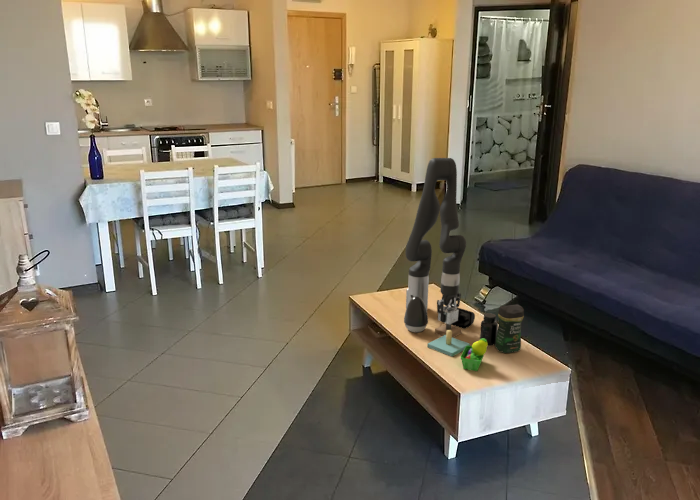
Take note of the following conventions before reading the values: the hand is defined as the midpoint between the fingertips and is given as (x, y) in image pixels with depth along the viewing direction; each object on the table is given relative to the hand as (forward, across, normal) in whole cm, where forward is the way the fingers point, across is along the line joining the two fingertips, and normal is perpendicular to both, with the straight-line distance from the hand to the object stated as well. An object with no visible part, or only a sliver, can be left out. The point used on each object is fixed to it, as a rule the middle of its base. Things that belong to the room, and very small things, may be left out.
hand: (447, 319), depth 244 cm
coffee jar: (+6, -4, +27) cm, 28 cm away
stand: (+6, 0, +1) cm, 6 cm away
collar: (0, 0, 0) cm, 0 cm away
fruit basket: (+6, +17, +25) cm, 30 cm away
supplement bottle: (+6, -4, +18) cm, 19 cm away
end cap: (+7, -12, -1) cm, 14 cm away
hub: (+6, +11, +9) cm, 15 cm away
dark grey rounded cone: (+7, +7, -11) cm, 15 cm away
